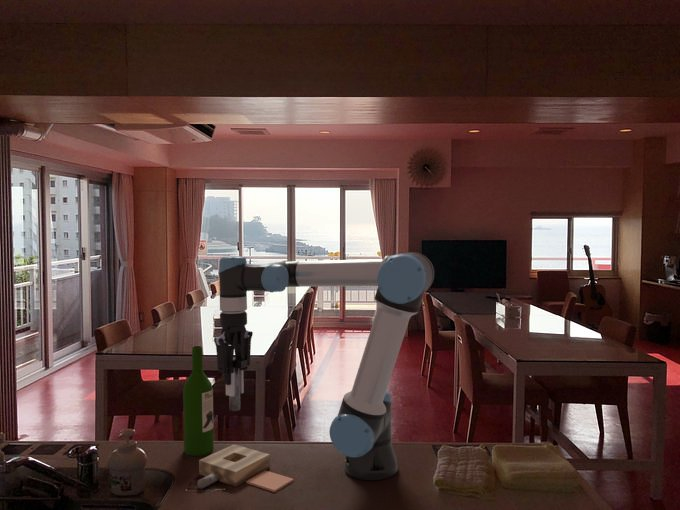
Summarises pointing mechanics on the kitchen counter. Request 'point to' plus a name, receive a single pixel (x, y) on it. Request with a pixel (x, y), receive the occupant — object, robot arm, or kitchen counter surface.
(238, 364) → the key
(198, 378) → the wine bottle
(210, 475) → the jig
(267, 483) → the mat
